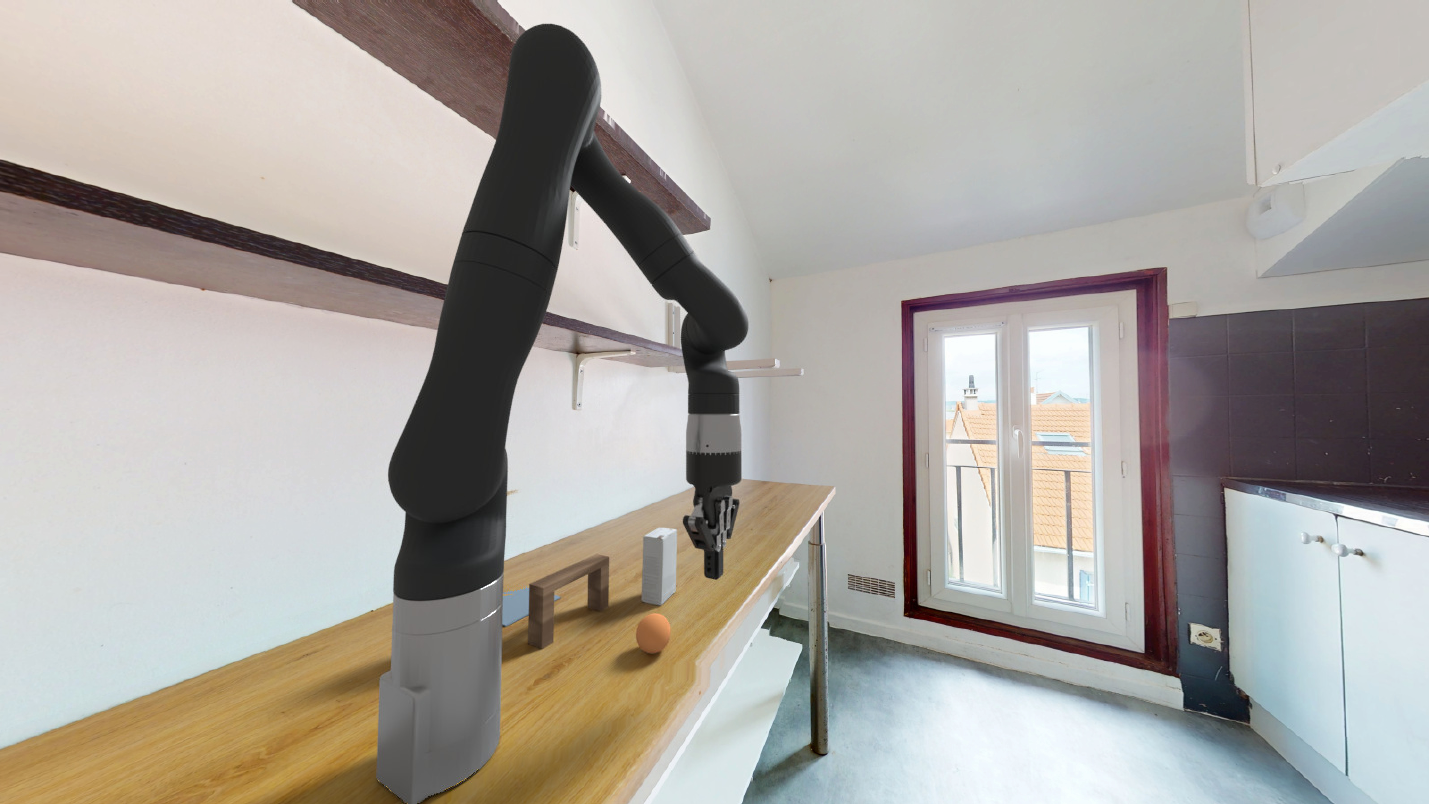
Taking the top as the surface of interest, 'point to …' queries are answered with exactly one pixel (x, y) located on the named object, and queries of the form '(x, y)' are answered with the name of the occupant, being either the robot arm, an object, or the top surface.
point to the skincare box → (659, 565)
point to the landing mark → (516, 606)
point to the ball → (653, 633)
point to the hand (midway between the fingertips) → (713, 576)
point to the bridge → (545, 587)
